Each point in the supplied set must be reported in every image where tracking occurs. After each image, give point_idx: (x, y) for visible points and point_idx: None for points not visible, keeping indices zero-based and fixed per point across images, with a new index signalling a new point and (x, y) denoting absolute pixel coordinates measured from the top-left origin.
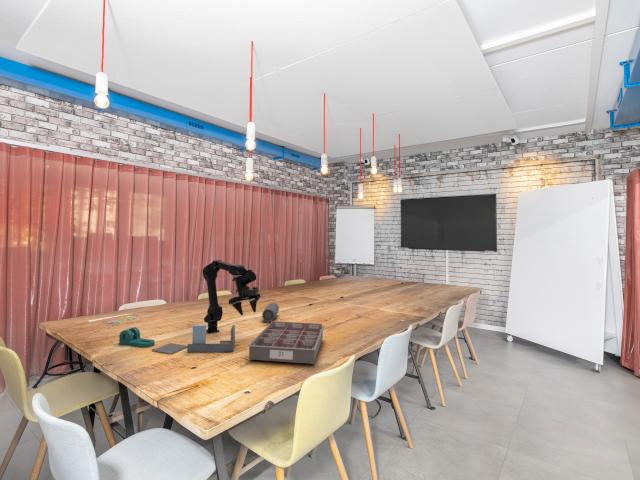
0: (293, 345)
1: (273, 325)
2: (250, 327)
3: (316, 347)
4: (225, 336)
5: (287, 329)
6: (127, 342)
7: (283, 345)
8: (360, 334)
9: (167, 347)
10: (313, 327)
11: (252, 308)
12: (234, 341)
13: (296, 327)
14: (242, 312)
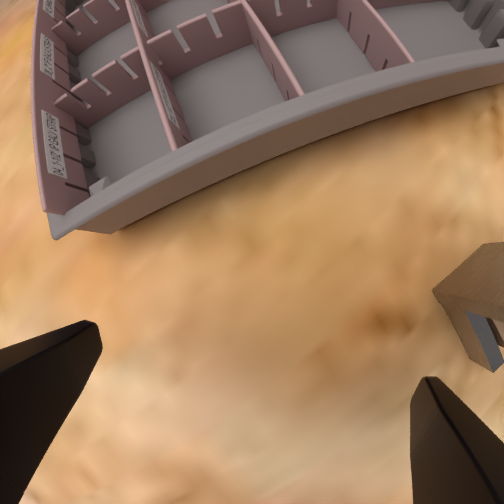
0: None
1: (67, 192)
2: (65, 444)
3: None
4: (267, 488)
5: (66, 109)
6: None
7: None
8: (7, 14)
9: None
10: (51, 4)
11: (59, 413)
12: (465, 283)
13: (54, 61)
14: (449, 404)
